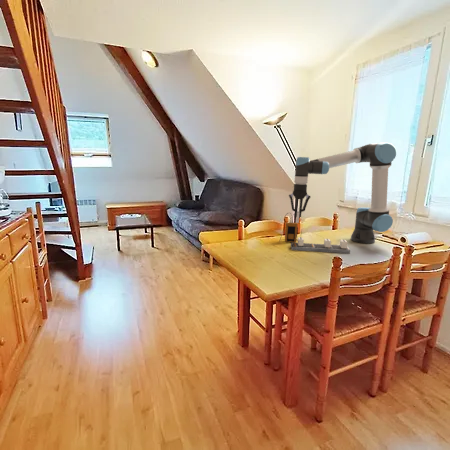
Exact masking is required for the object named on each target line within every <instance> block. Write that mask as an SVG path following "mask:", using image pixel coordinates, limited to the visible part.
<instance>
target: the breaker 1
mask: <svg viewBox="0 0 450 450" xmlns="http://www.w3.org/2000/svg"><path fill="white" fill-rule="evenodd" d="M297 243H298V246H303V243H305V239H304V237H302V236H297Z"/></svg>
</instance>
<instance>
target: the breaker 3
mask: <svg viewBox="0 0 450 450" xmlns="http://www.w3.org/2000/svg"><path fill="white" fill-rule="evenodd" d="M339 245H340V247H341V248H346V249H347V247H348V241H347V240H346V239H339Z"/></svg>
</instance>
